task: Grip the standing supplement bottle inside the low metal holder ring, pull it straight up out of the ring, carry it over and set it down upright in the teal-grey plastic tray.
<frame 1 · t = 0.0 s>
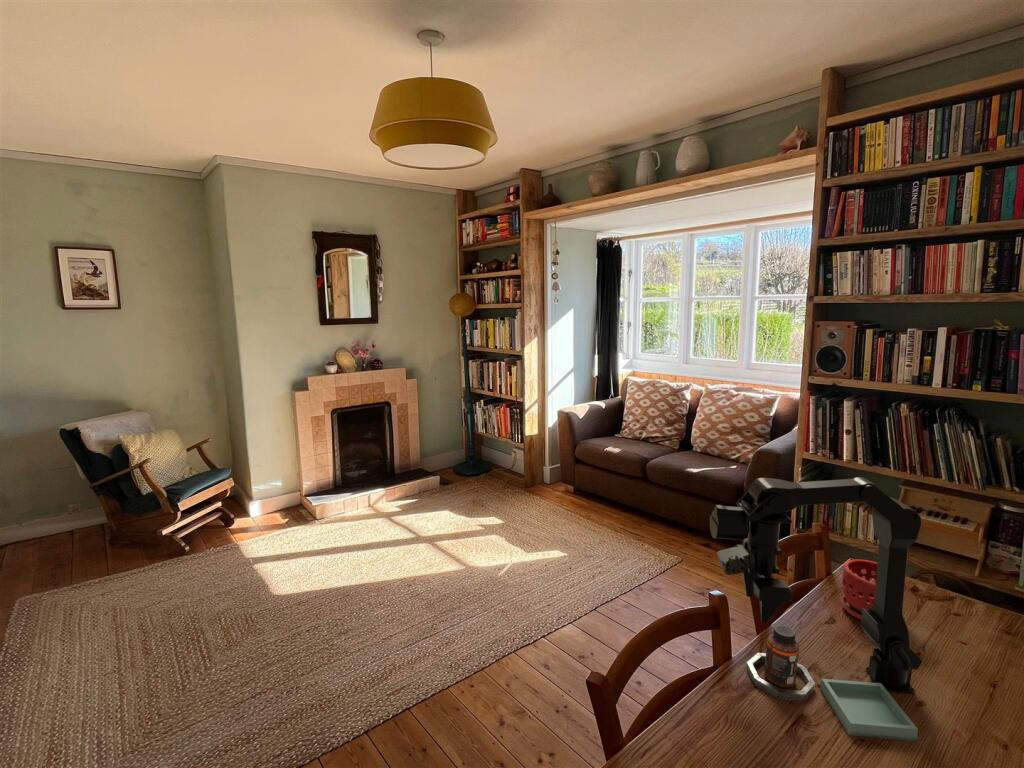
hand: (756, 608, 112), 15 cm above the table, tool pointing down, fingers open, 9 cm apart
tray: (865, 713, 103), on the table
plant pot: (868, 615, 135), on the table
holder ring: (779, 678, 112), on the table
supplement bottle: (779, 679, 112), resting in holder ring
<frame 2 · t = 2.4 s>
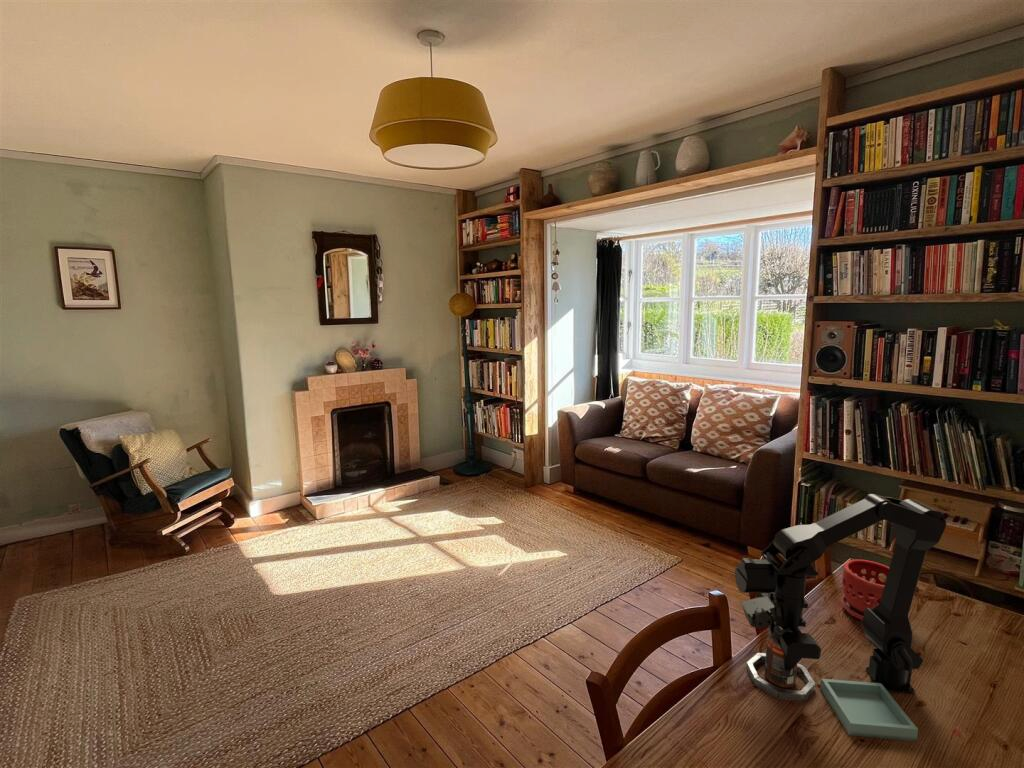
hand: (781, 659, 111), 5 cm above the table, tool pointing down, fingers closed on supplement bottle, 6 cm apart
supplement bottle: (779, 679, 112), resting in holder ring, touching gripper
everything else where it was.
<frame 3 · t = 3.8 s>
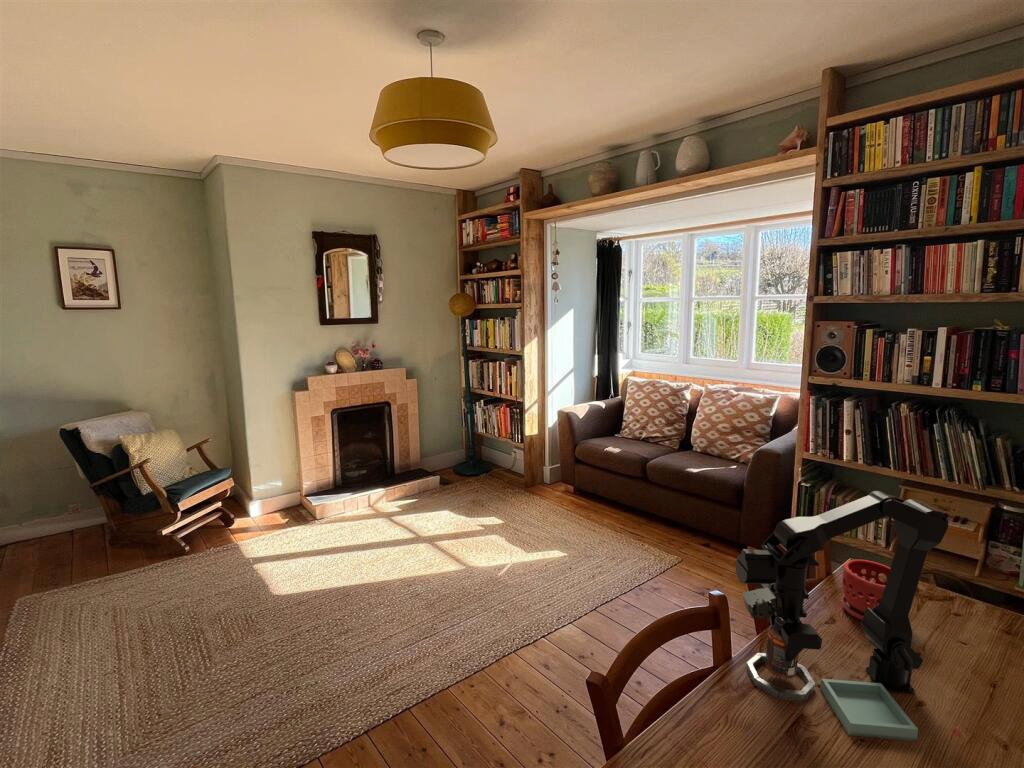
hand: (782, 650, 111), 7 cm above the table, tool pointing down, fingers closed on supplement bottle, 6 cm apart
supplement bottle: (780, 671, 112), point 2 cm above the table, touching gripper
everything else where it was.
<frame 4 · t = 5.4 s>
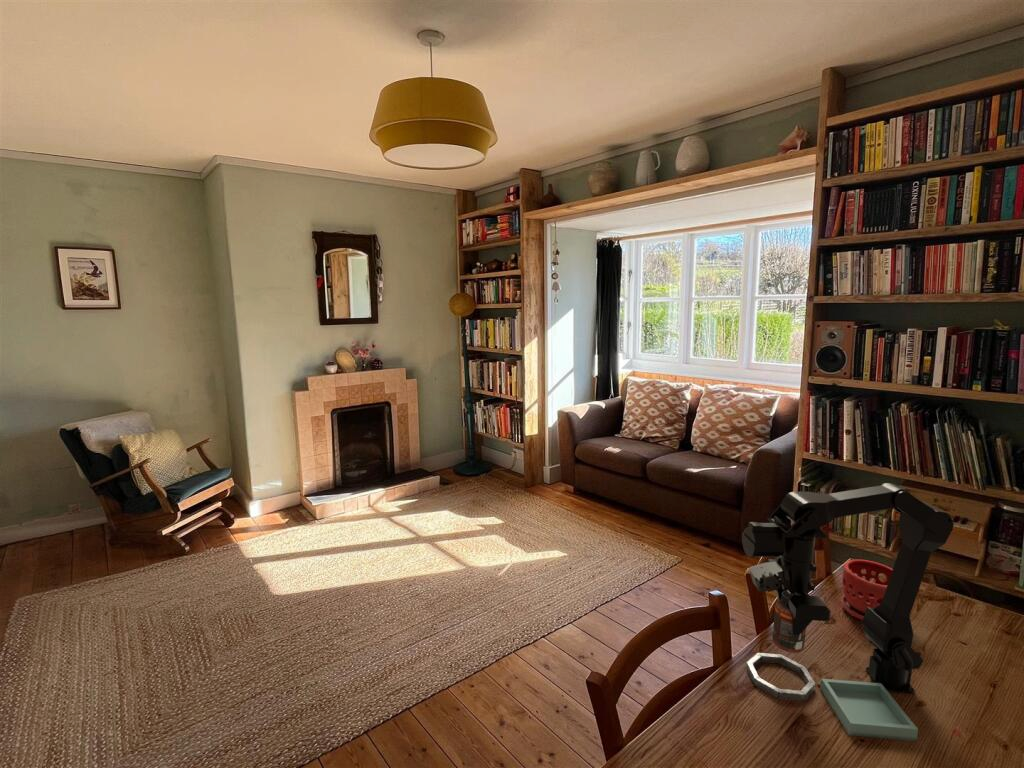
hand: (789, 625, 109), 13 cm above the table, tool pointing down, fingers closed on supplement bottle, 6 cm apart
supplement bottle: (787, 645, 110), point 8 cm above the table, touching gripper
everything else where it was.
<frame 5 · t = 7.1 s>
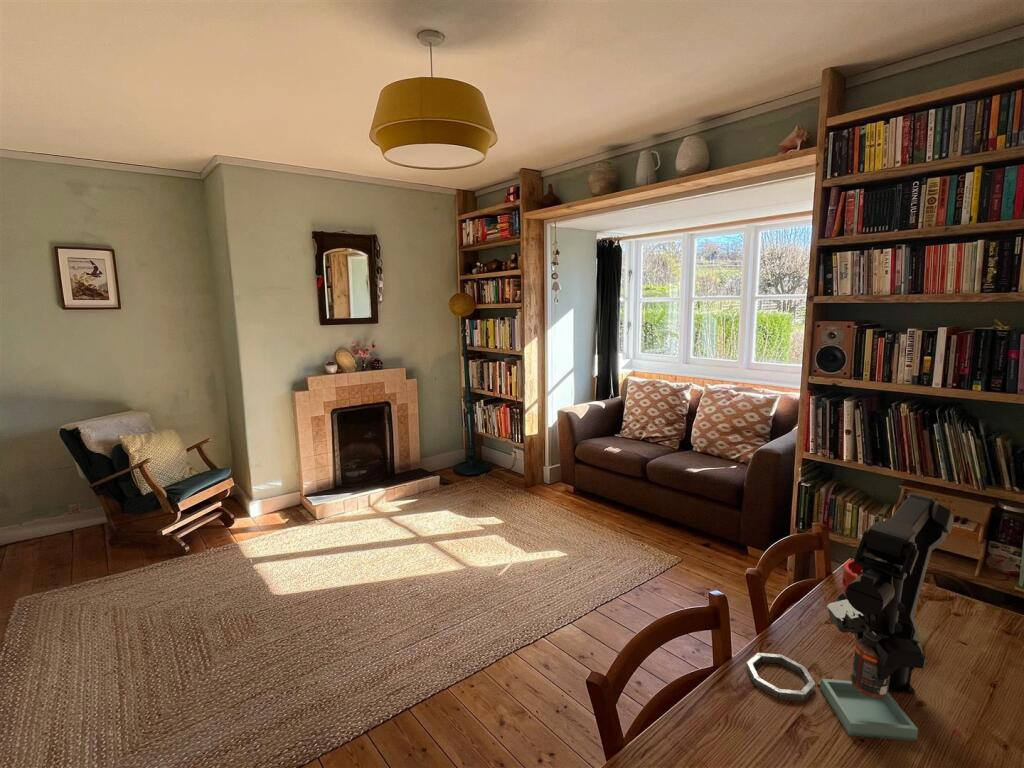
hand: (871, 667, 101), 10 cm above the table, tool pointing down, fingers closed on supplement bottle, 6 cm apart
supplement bottle: (868, 689, 102), point 5 cm above the table, touching gripper
everything else where it was.
when the fingers open (7 cm above the table, at t = 8.5 s): supplement bottle drops 1 cm, resting on tray.
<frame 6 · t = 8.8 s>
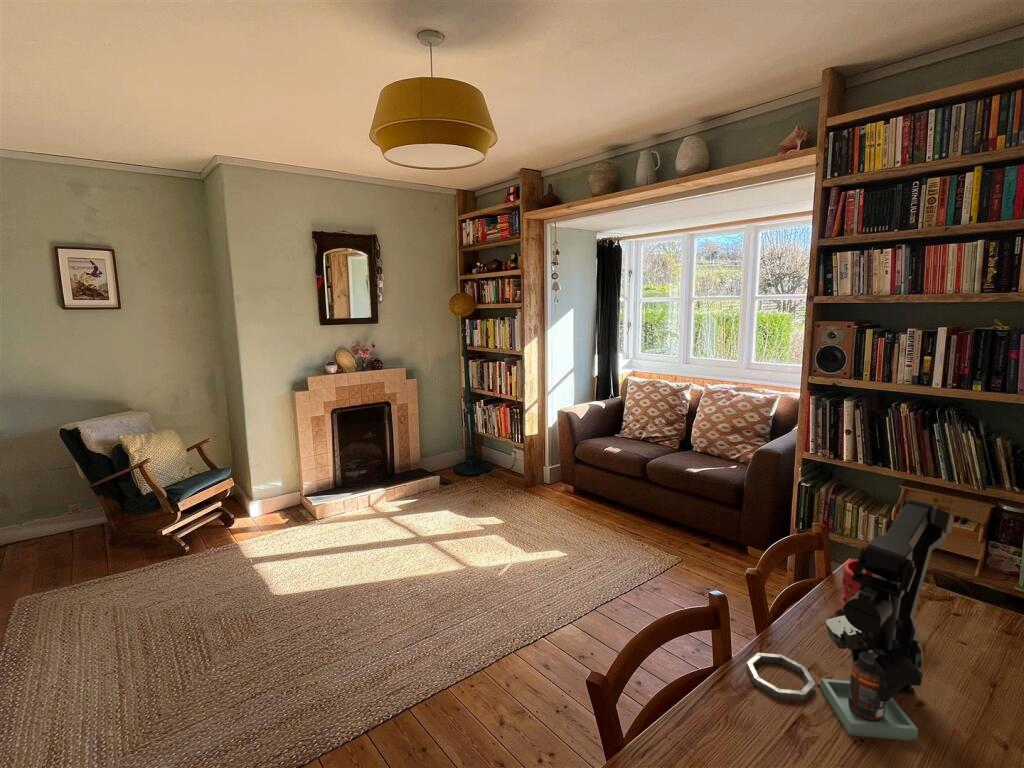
hand: (869, 683, 102), 7 cm above the table, tool pointing down, fingers open, 9 cm apart
supplement bottle: (865, 711, 103), resting on tray
everything else where it was.
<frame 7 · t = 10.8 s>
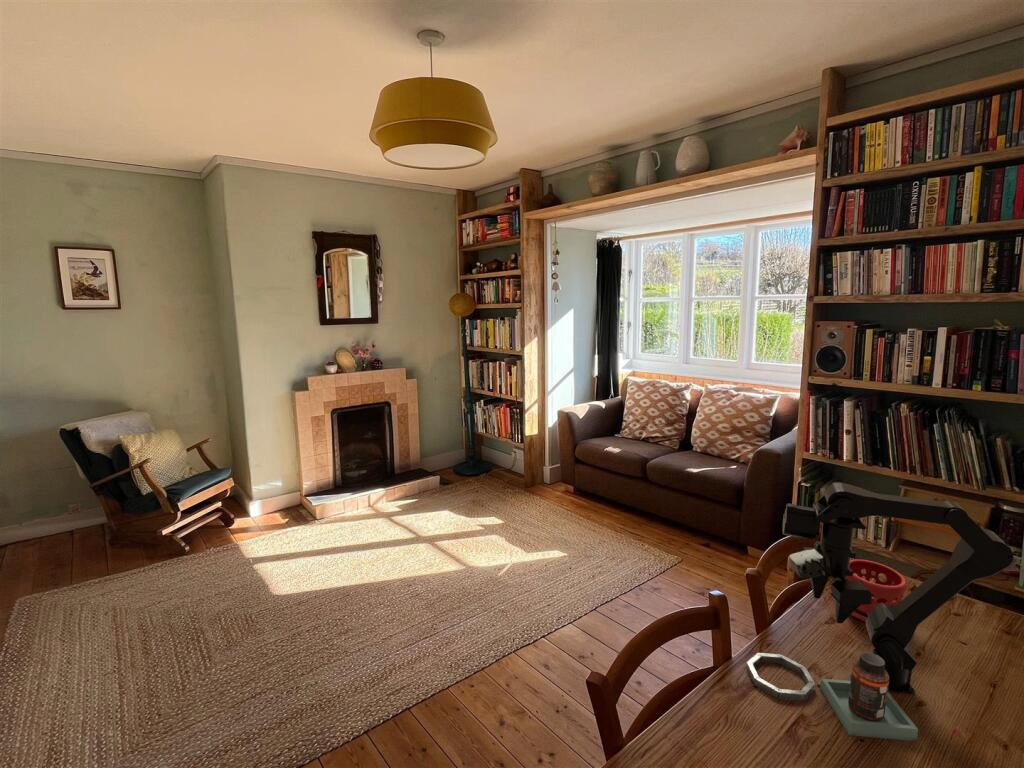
hand: (827, 610, 115), 13 cm above the table, tool pointing down, fingers open, 9 cm apart
nothing on the table moved.
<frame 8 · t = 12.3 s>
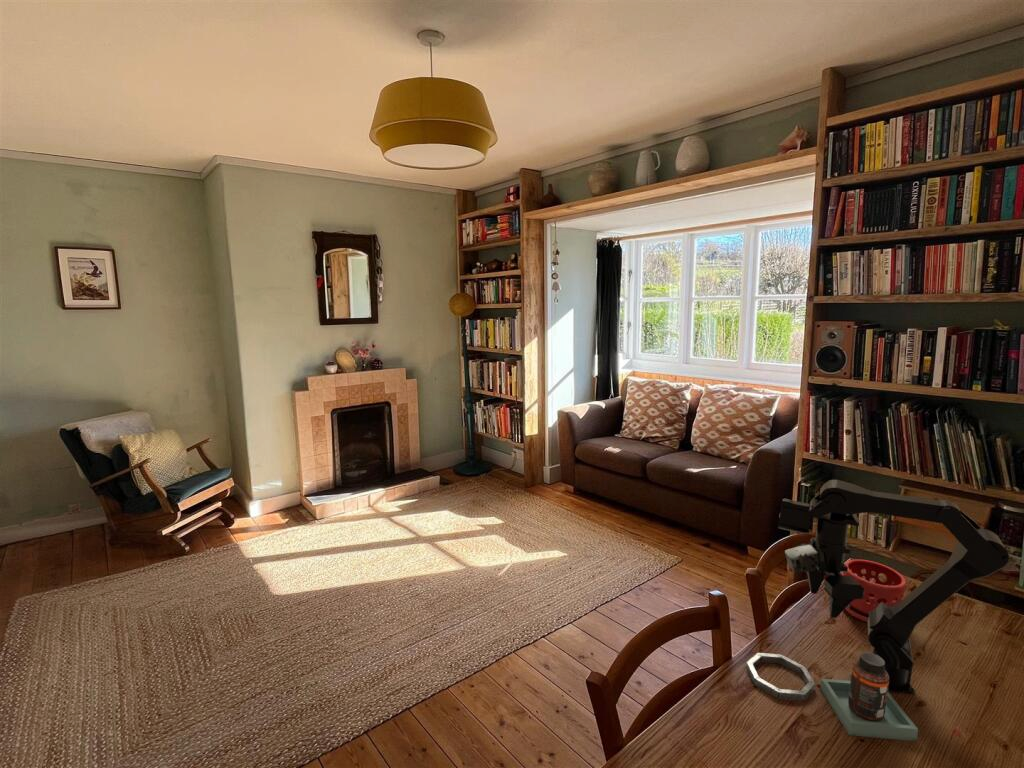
hand: (823, 604, 117), 13 cm above the table, tool pointing down, fingers open, 9 cm apart
nothing on the table moved.
at the end: supplement bottle inside the target area on the tray (0.0 cm from its centre), point 0.4 cm above the tray's base; supplement bottle tilted 0°; the gripper is holding nothing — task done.
